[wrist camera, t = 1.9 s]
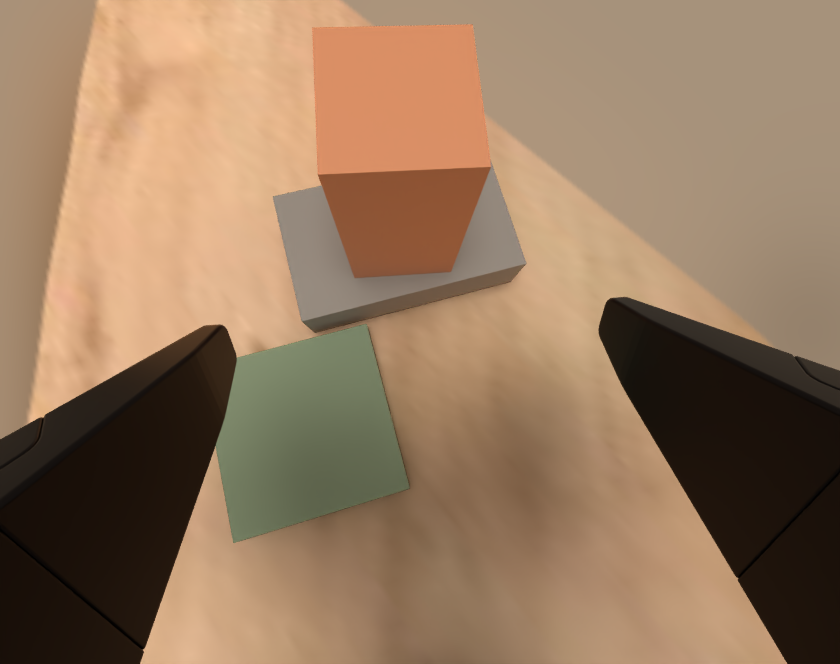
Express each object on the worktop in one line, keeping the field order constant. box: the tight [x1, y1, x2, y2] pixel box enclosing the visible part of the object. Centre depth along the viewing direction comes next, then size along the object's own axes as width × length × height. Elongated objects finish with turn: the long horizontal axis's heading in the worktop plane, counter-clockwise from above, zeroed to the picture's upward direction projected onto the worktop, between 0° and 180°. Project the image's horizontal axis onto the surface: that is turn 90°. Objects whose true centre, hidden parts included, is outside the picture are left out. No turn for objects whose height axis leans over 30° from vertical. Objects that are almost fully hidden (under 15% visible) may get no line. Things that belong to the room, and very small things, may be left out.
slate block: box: [273, 160, 526, 332], centre depth 22 cm, size 7×12×3 cm, turn 106°
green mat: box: [216, 324, 410, 543], centre depth 21 cm, size 9×9×1 cm
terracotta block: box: [312, 25, 491, 278], centre depth 16 cm, size 5×5×9 cm
